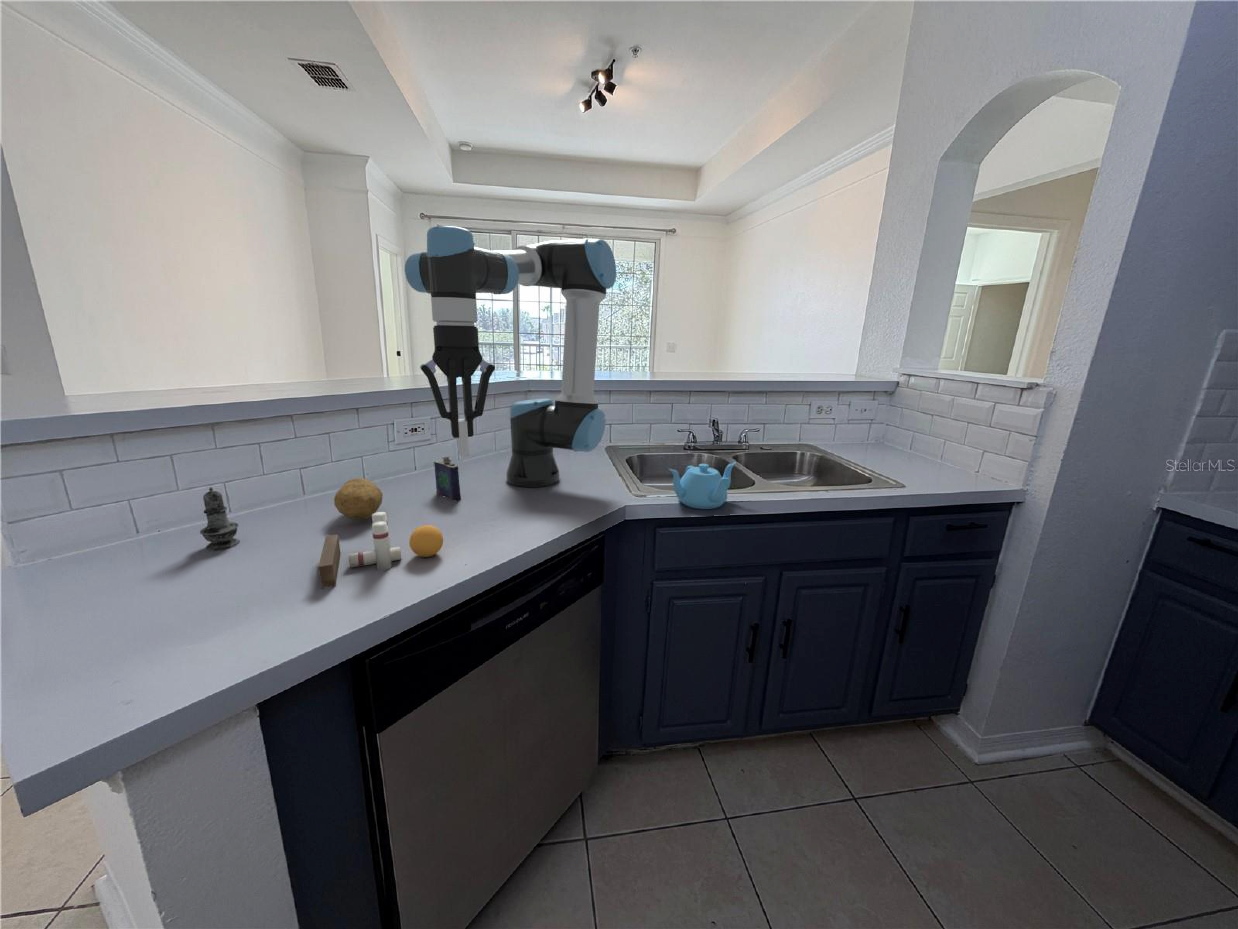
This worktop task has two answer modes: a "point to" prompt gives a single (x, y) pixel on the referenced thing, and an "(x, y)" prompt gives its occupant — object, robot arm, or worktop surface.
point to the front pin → (371, 557)
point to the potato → (358, 499)
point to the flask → (447, 479)
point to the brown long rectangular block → (329, 561)
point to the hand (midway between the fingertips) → (463, 453)
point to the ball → (426, 540)
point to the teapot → (702, 486)
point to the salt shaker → (218, 523)
